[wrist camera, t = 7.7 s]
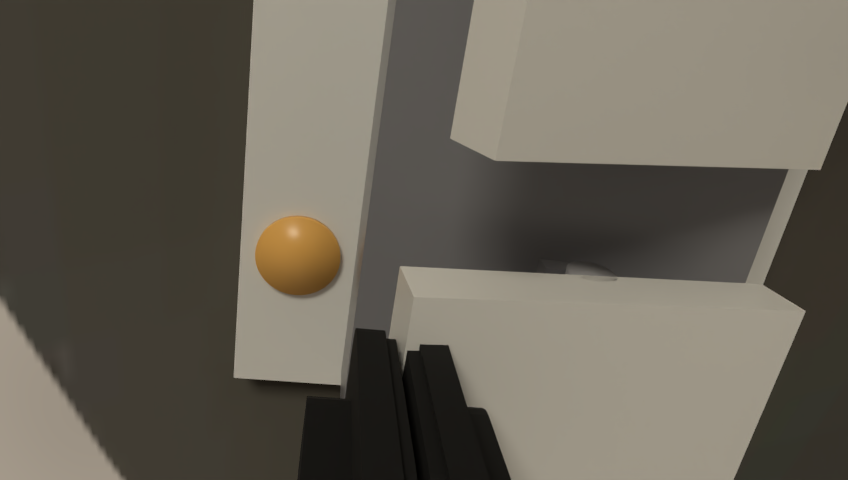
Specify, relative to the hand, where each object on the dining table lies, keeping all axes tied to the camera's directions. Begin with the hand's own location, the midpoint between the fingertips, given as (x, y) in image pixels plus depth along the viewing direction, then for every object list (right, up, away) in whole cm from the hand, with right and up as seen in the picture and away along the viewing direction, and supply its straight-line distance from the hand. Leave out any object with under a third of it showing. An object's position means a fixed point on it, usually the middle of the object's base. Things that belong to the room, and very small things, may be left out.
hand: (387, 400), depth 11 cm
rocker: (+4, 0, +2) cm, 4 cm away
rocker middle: (+5, +7, -1) cm, 8 cm away
